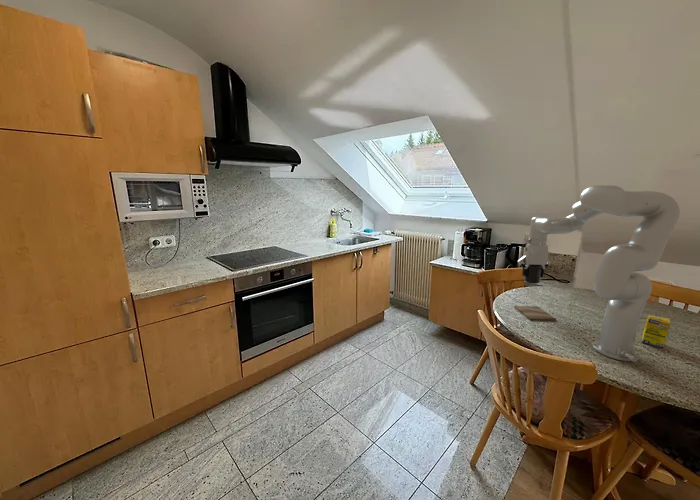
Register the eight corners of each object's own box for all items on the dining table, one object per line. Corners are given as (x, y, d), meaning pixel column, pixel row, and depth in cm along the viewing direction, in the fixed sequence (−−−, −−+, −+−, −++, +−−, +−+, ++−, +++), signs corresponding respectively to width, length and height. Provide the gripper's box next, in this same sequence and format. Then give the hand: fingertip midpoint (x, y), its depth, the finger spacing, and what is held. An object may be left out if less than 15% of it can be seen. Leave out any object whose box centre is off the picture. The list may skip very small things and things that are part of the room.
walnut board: (555, 320, 132) (556, 318, 131) (529, 320, 132) (530, 318, 132) (537, 308, 145) (538, 306, 145) (514, 307, 146) (514, 305, 146)
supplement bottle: (535, 280, 147) (538, 257, 144) (542, 284, 140) (545, 260, 138) (521, 279, 147) (524, 257, 145) (527, 283, 141) (530, 260, 138)
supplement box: (641, 343, 113) (648, 318, 111) (641, 337, 117) (647, 313, 115) (663, 349, 109) (670, 323, 107) (662, 343, 113) (669, 318, 111)
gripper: (523, 243, 136) (518, 278, 140) (560, 243, 135) (554, 278, 139) (515, 240, 143) (511, 273, 147) (550, 240, 143) (545, 274, 146)
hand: (532, 275), depth 143 cm, fingers closed on supplement bottle, 6 cm apart
